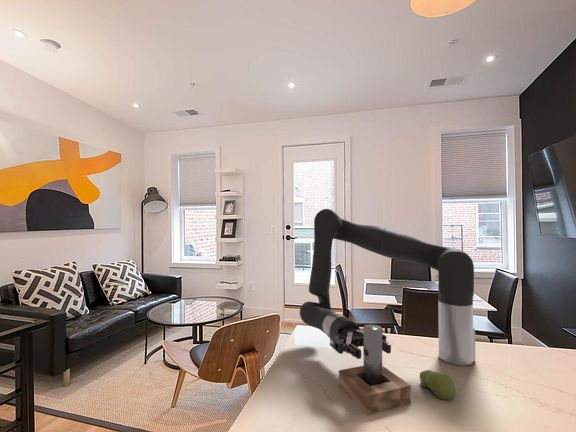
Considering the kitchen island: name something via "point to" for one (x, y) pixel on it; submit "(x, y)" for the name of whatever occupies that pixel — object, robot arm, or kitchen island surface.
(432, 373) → the green rounded lump
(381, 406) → the socket block
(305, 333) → the kitchen island surface
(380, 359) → the pin
